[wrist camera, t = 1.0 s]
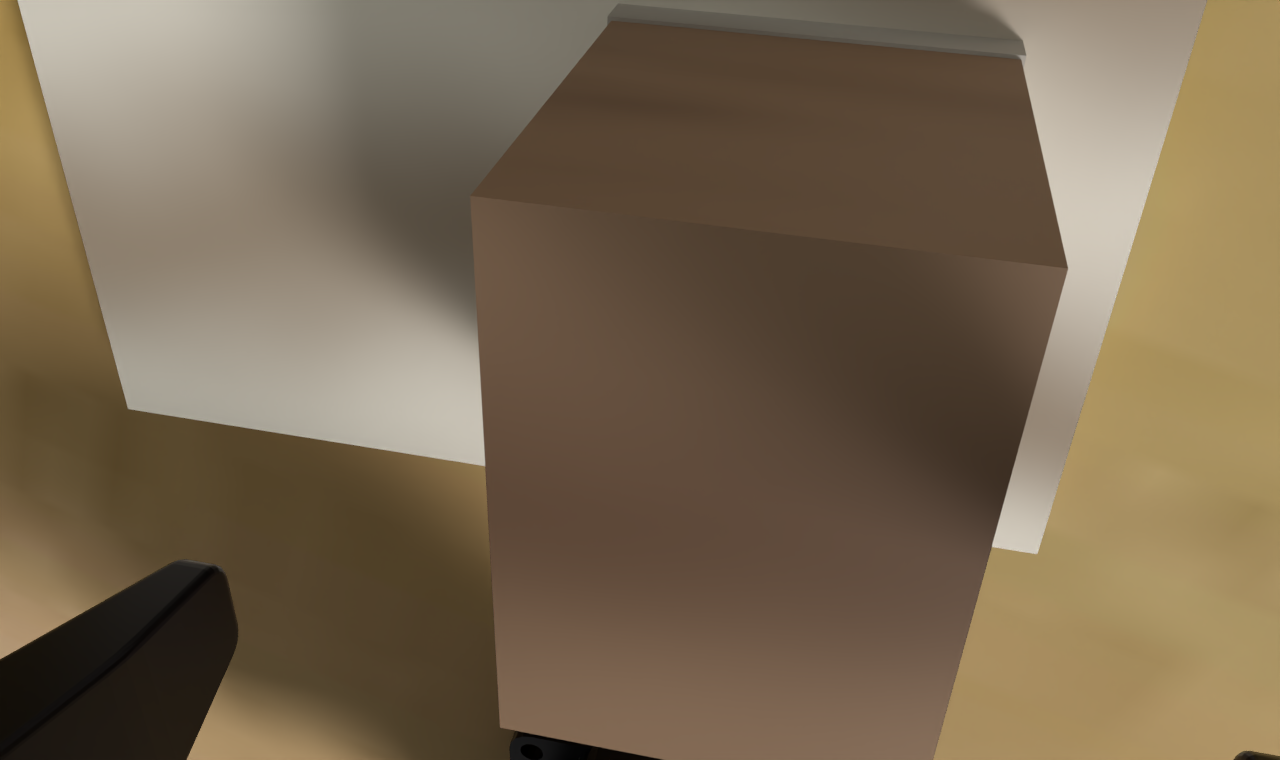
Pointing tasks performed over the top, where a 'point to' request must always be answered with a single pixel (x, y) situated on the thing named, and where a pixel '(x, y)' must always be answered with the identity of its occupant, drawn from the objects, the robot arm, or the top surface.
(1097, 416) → the top surface
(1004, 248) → the block
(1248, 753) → the robot arm
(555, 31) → the birch board
